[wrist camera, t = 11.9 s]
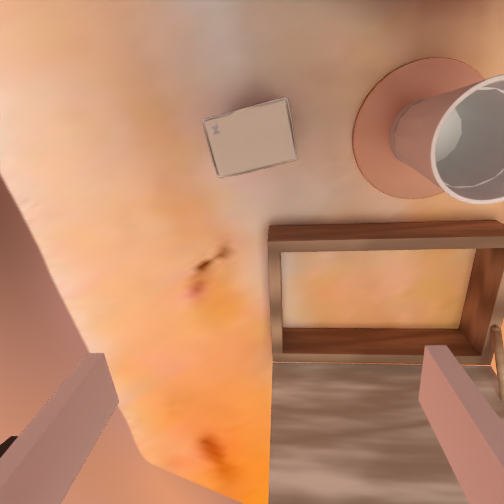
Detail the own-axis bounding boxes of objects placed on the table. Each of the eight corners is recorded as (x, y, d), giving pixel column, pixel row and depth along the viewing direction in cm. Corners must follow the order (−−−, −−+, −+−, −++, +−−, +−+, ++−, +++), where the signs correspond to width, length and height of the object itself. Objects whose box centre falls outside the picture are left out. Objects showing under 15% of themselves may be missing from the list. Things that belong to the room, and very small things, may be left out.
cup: (432, 67, 30) (520, 40, 19) (484, 130, 31) (592, 139, 20) (363, 135, 33) (404, 147, 22) (414, 190, 34) (477, 227, 23)
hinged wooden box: (269, 226, 38) (256, 329, 20) (494, 219, 35) (719, 332, 17) (274, 356, 45) (268, 520, 27) (462, 359, 43) (595, 542, 24)
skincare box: (235, 160, 35) (213, 181, 24) (225, 118, 34) (195, 120, 23) (294, 146, 34) (299, 161, 23) (286, 101, 33) (287, 95, 22)
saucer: (357, 64, 31) (359, 63, 30) (504, 53, 30) (510, 51, 29) (349, 199, 36) (350, 201, 35) (475, 195, 35) (479, 196, 34)
